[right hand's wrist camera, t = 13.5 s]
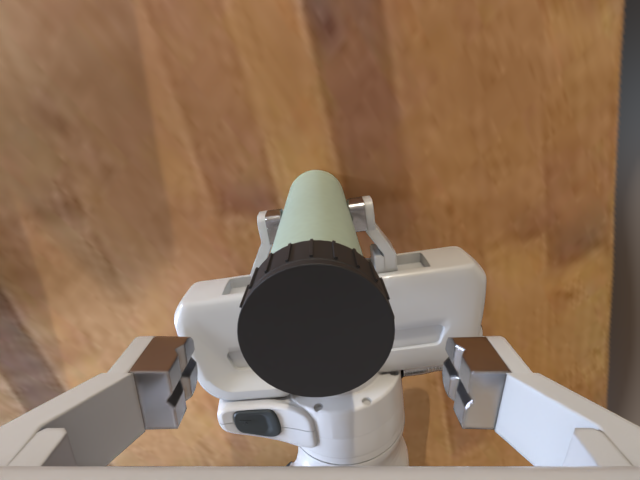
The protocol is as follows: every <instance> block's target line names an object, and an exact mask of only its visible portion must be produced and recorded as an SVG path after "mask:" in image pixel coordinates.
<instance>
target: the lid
mask: <svg viewBox="0 0 640 480" xmlns="http://www.w3.org/2000/svg"><path fill="white" fill-rule="evenodd" d="M389 300H390V297H389V294H388V292H387V289H386V286H385V284H384V281H383V279H382V277H380V278H379V275H378V274H377V272H376V270H375V269H374V266H373V264H372V262H371V261H368V260H366V259H365V258H364V257H363V256H362V255H361V254H359V253H358V252H357V251H356V249H355V248H353V249H351V248H349V247H347V246H344V245H342V244H339V243H336V241H334V240H333V241H332V242H331V241H324V240H313V239H310V240H308V241H301V242H297V243H293V244H291V243H289V244H288V246H286V247H283V248H281V249H280V250H278V251H276V252H275V253H270V254H269V257H268V258H267V259H266V260H265V261H264V262H263V263H262V264H261V265H260V267H259V268H258V267H256V268H255V271H254V273H253V276H252V279H251V281H250V284H249V285H247V287H246V290H245V293H244V295H243V298H242V300H241V303H240V306H239V308H241V311H240V313H239V318H238V323H237V337H238V343H239V347H240V350H241V352H242V355H243V357H244V359H245V360H246V362H247V364H248V365H249V366H250V368H251V369H252V370H253V371H254V373H256V374H257V375H258V376H259V377H260V378H261V379H262V380H264V381H265V382H266V383H268V384H269V385H271V386H273V387H275V388H276V389H279V390H281V391H283V392H286V393H290V394H293V395H297V396H303V397H328V396H334V395H339V394H342V393H345V392H348V391H351V390H353V389H355V388H357V387H359V386H361V385H362V384H364V383H366V382H367V381H368V380H369V379H371V378H372V377H373V376H374V375H375V374H376V373H377V372H378V371H379V370H380V369H381V368H382V366H383V365H384V364H385V362H386V360H387V358H388V357H389V355H390V352H391V350H392V347H393V343H394V338H395V322H394V319H395V316H394V314H393V311H392V308H391V305H390V303H389Z"/></svg>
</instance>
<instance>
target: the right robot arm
mask: <svg viewBox="0 0 640 480" xmlns="http://www.w3.org/2000/svg"><path fill="white" fill-rule="evenodd" d="M194 350H195V347H194V342H193V339H192V338H191V337H174V336H139V337H136V338H135V339H134V340H133V341H132V343H131V344H130V345H129V346H128V348H127V349H126V350H125V351H124V352H123V354H122V355H121V356H120V357H119V359H118V360H117V361H116V362H115V364H114V365H113V366H112V367H111V369H110V370H109V371H108V372H107V373H100V374H99V375H97V376H95V377H93V378H91V379H89V380H87V381H85V382H83V383H82V384H80V385H78V386H76V387H74V388H72V389H70V390H68V391H67V392H65V393H63V394H61V395H59V396H57V397H55V398H53V399H51V400H50V401H48V402H46V403H44V404H42V405H40V406H38V407H36V408H34V409H33V410H31V411H29V412H27V413H25V414H23V415H21V416H19V417H17V418H16V419H14V420H12V421H10V422H8V423H6V424H4V425H2V426H1V427H0V480H640V427H639V426H637V425H635V424H634V423H632V422H630V421H628V420H626V419H624V418H622V417H620V416H618V415H617V414H615V413H613V412H611V411H609V410H607V409H605V408H603V407H602V406H600V405H598V404H596V403H594V402H592V401H590V400H588V399H587V398H585V397H583V396H581V395H579V394H577V393H575V392H573V391H572V390H570V389H568V388H566V387H564V386H562V385H560V384H558V383H556V382H555V381H553V380H551V379H549V378H547V377H545V376H543V375H541V374H540V373H533V372H532V371H531V370H530V369H529V367H528V366H527V365H526V364H525V362H524V361H523V360H522V359H521V357H520V356H519V355H518V354H517V353H516V351H515V350H514V349H513V348H512V346H511V345H510V344H509V343H508V341H507V340H506V339H505V338H504V337H502V336H483V337H448V339H447V341H446V347H445V350H446V352H447V354H448V356H449V357H448V358H447V359H446V360H445V361H444V362H443V370H442V375H443V384H444V387H445V391H446V393H447V395H448V397H450V398H451V399H452V400H454V401H455V402H454V408H453V409H454V411H455V413H456V416H457V418H458V420H459V422H460V424H461V427H462V429H494V430H495V432H496V433H497V434H499V435H500V436H501V437H502V438H503V439H504V440H505V441H506V442H508V443H509V444H510V445H511V446H512V447H513V448H514V449H516V450H517V451H518V452H519V453H520V454H521V455H522V456H523V457H525V458H526V459H527V460H528V461H529V462H530V463H531V464H532V465H534V466H106V465H108V464H109V463H110V462H111V461H112V460H113V459H114V458H116V457H117V456H118V455H119V454H120V453H121V452H122V451H123V450H125V449H126V448H127V447H128V446H129V445H130V444H131V443H133V442H134V441H135V440H136V439H137V438H138V437H139V436H140V435H142V434H143V433H144V432H145V430H146V429H178V427H179V425H180V422H181V420H182V418H183V416H184V413H185V411H186V409H187V408H186V402H185V401H186V400H188V399H189V398H190V397H192V395H193V393H194V390H195V388H196V383H197V377H198V369H197V362H196V361H195V360H194V359H193V358H192V357H191V356H192V354H193V352H194Z"/></svg>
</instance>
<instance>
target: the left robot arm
mask: <svg viewBox="0 0 640 480" xmlns="http://www.w3.org/2000/svg"><path fill="white" fill-rule="evenodd" d="M347 205H348V208H349V212H350V215H351V218H352V222H353V225H354V228H355V231H356V232H358V231H365V232H366V233H367V234H368V235H369V237H370V238H371V239H372V240H373V242H374V243H375V244H371V245H370V252H371V258H365V259H366V260H368V261H371V262H372V264H373V266H374V269H375V270H376V272H377V274H378V275H379V278H380V277H382V279H383V281H384V284H385V286H386V289H387V292H388V294H389V297H390V300H389V303H390V305H391V308H392V311H393V314H394V316H395V319H394V322H395V338H394V343H393V347H392V350H391V352H390V355H389V357H388V358H387V360H386V362H385V364H384V365H383V366H382V368H381V369H380V370H379V371H378V372H377V373H376V374H375V375H374V376H373V377H372V378H371V379H369V380H368V381H367V382H366V383H364V384H362V385H361V386H359V387H357V388H355V389H353V390H351V391H348V392H345V393H342V394H339V395H334V396H328V397H303V396H297V395H293V394H290V393H286V392H283V391H281V390H279V389H276V388H275V387H273V386H271V385H269V384H268V383H266V382H265V381H264V380H262V379H261V378H260V377H259V376H258V375H257V374H256V373H254V371H253V370H252V369H251V368H250V366H249V365H248V364H247V362H246V360H245V359H244V357H243V355H242V352H241V350H240V347H239V343H238V337H237V323H238V318H239V313H240V311H241V308H239V306H240V303H241V300H242V298H243V295H244V293H245V290H246V287H247V285H249V284H250V281H251V279H252V276H253V273H254V271H255V268H256V267H258V268H259V267H260V265H261V264H262V263H263V262H264V261H265V260H266V259H267V258H268V255H269V252H270V250H271V247H272V244H273V243H274V240H275V236H276V233H277V230H278V227H279V223H280V220H281V217H282V214H283V209H276V210H268V211H267V210H266V211H261V212H259V214H258V216H257V224H258V229H259V233H260V238H261V245H260V248H259V251H258V253H257V256H256V259H255V262H254V265H253V267H252V270H251V273H250V275H243V276H236V277H229V278H222V279H214V280H207V281H200V282H196V283H194V284H193V285H192V286H191V287H190V289H189V290H188V291H187V293H186V294H185V295H184V297H183V298H182V300H181V301H180V303H179V305H178V307H177V309H176V311H175V315H174V323H175V328H176V331H177V334H178V337H191V338H192V339H193V342H194V347H195V350H194V352H193V354H192V356H191V357H192V358H193V359H194V360H195V361H196V362H197V369H198V377H197V380H198V381H199V383H200V384H201V386H202V387H203V388H204V389H205V390H206V391H207V392H208V393H210V394H211V395H213V396H215V397H217V398H220V401H219V407H218V414H217V416H218V421H219V424H220V426H221V427H222V429H224V430H225V431H227V432H230V433H235V434H243V435H251V436H259V437H265V438H270V439H275V440H280V441H284V442H287V443H291V444H294V445H297V446H298V455H297V459H296V461H295V462H290V463H289V464H287V465H286V466H409V458H408V450H407V446H406V443H405V440H404V437H403V435H402V434H403V430H404V424H405V412H404V400H403V389H402V380H401V378H403V377H405V376H414V375H422V374H427V373H431V372H434V371H442V370H443V362H444V361H445V360H446V359H447V358H448V357H449V356H448V354H447V352H446V350H445V347H446V341H447V339H448V337H483V331H482V325H481V322H482V317H483V310H484V304H485V295H486V275H485V272H484V270H483V269H482V267H481V266H480V265H479V264H478V262H477V261H476V260H475V259H474V258H473V257H471V256H470V255H469V254H468V253H467V252H465V251H464V250H463V249H461V248H460V247H457V246H450V247H443V248H436V249H428V250H421V251H414V252H407V253H400V254H396V252H395V250H394V248H393V246H392V244H391V242H390V241H389V239H388V238H387V237H386V236H385V234H384V233H383V232H382V230H381V229H380V228H379V227H378V225H377V224H376V223H375V217H374V207H373V202H372V199H371V197H370V195H369V196H362V197H356V198H350V199H347Z"/></svg>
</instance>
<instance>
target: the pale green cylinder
mask: <svg viewBox="0 0 640 480" xmlns="http://www.w3.org/2000/svg"><path fill="white" fill-rule="evenodd" d="M310 239H313V240H324V241H331V242H332V241H333V240H334V241H336V243H339V244H342V245H344V246H347V247H349V248H351V249H353V248H355V249H356V251H357V252H358V253H359V254H361V255H362V256H363V254H362V251H361V248H360V244H359V241H358V238H357V235H356V231H355V228H354V225H353V222H352V218H351V215H350V212H349V208H348V205H347V202H346V199H345V195H344V192H343V189H342V186H341V184H340V182H339V181H338V180H337V179H336V178H335V177H334V176H333V175H332V174H330V173H328V172H326V171H322V170H311V171H307V172H305V173H303V174H301V175H300V176H298V177H297V178H296V179H295V181H294V182H293V184H292V185H291V188H290V191H289V194H288V198H287V201H286V204H285V207H284V210H283V214H282V217H281V220H280V223H279V227H278V230H277V233H276V236H275V240H274V243H273V246H272V249H271V253H275V252H276V251H278V250H280V249H281V248H283V247H286V246H288V244H289V243H291V244H293V243H297V242H301V241H308V240H310Z"/></svg>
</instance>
